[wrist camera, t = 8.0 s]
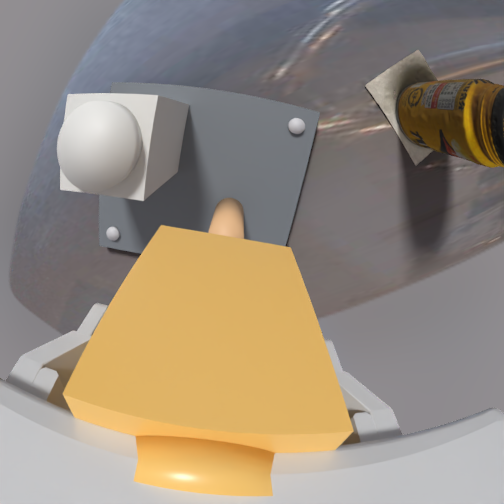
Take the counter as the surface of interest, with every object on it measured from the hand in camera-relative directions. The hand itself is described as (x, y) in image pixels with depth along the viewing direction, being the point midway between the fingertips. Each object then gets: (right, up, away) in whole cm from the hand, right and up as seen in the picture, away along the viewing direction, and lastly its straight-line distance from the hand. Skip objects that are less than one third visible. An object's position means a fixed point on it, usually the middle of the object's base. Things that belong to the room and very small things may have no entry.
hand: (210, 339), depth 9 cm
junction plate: (-3, +9, +12) cm, 16 cm away
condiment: (+16, +16, +10) cm, 25 cm away
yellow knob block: (0, +1, +3) cm, 3 cm away
